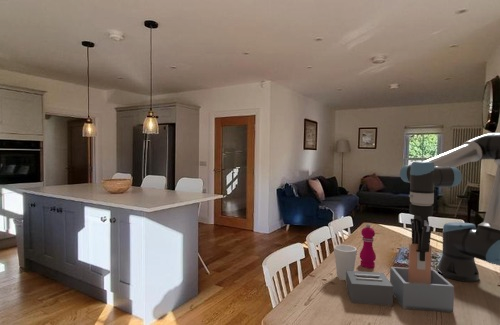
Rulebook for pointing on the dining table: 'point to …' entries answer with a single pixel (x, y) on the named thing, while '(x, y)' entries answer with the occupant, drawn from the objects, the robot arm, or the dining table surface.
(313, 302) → the dining table surface
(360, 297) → the dispenser
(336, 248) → the foam cup
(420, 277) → the terracotta flat slab
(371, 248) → the pepper mill
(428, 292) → the bin
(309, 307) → the dining table surface
